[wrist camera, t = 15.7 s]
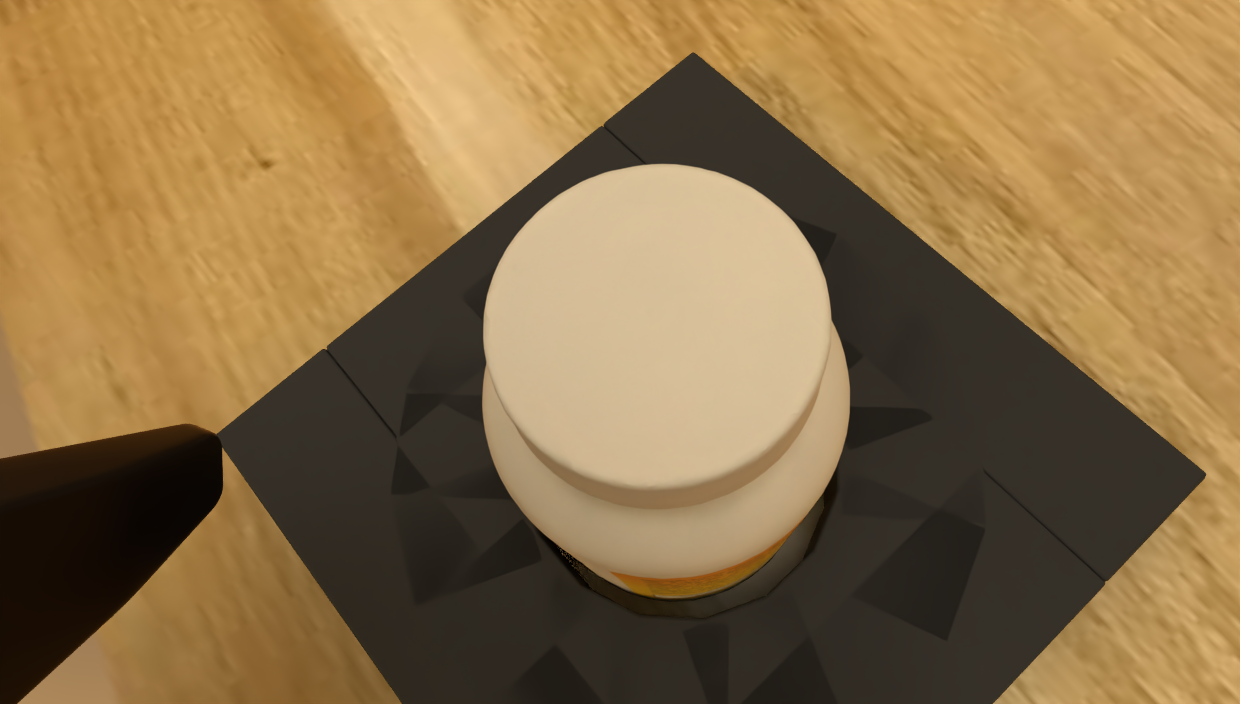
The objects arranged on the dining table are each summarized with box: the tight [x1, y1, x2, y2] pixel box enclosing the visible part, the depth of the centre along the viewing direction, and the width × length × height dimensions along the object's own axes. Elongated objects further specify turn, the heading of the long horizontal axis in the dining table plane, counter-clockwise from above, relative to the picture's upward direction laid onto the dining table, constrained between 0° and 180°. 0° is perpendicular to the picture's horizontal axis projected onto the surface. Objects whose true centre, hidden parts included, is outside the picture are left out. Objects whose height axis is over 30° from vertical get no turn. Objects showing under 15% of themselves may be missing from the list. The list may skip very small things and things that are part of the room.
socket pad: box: [216, 53, 1206, 704], centre depth 17 cm, size 14×14×2 cm
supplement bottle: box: [482, 164, 850, 601], centre depth 14 cm, size 5×5×10 cm
